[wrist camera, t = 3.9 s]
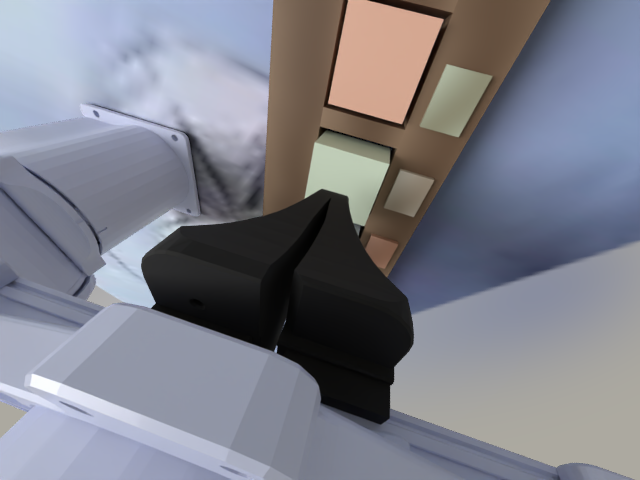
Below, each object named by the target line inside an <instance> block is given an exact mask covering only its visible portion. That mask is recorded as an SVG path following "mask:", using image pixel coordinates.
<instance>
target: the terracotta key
mask: <svg viewBox="0 0 640 480" xmlns="http://www.w3.org/2000/svg"><path fill="white" fill-rule="evenodd" d="M443 20H444V19H440V18H436V17H432V16H428V15H424V14H420V13H416V12H412V11H408V10H404V9H400V8H396V7H392V6H388V5H384V4H380V3H376V2H372V1H368V0H348V4H347V9H346V14H345V19H344V24H343V30H342V35H341V40H340V45H339V50H338V55H337V60H336V65H335V71H334V76H333V81H332V86H331V91H330V96H329V101H328V104H332V105H335V106H339V107H342V108H346V109H349V110H353V111H357V112H360V113H364V114H367V115H371V116H374V117H378V118H381V119H385V120H388V121H392V122H396V123H399V124H402V123H403V121H404V118H405V116H406V113H407V111H408V108H409V106H410V103H411V101H412V98H413V96H414V93H415V90H416V88H417V85H418V83H419V80H420V78H421V75H422V73H423V70H424V68H425V65H426V63H427V60H428V58H429V55H430V53H431V50H432V48H433V45H434V43H435V40H436V38H437V35H438V32H439V30H440V27H441V25H442V22H443Z"/></svg>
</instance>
